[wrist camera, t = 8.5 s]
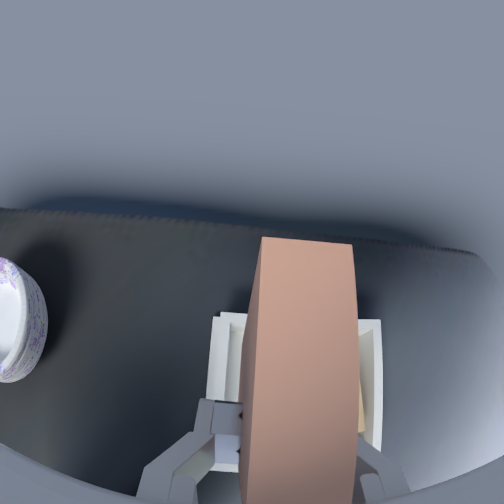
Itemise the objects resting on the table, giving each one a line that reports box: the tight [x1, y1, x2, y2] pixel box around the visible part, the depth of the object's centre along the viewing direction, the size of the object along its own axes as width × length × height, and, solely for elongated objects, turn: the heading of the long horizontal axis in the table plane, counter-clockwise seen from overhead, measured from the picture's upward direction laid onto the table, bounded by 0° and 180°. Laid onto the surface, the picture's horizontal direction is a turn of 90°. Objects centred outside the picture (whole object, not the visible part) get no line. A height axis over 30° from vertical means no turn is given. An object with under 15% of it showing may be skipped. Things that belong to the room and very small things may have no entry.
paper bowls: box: [0, 257, 48, 382], centre depth 27 cm, size 15×15×8 cm
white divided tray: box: [206, 312, 383, 472], centre depth 28 cm, size 19×17×5 cm
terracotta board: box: [238, 237, 359, 504], centre depth 11 cm, size 2×6×13 cm, turn 177°
